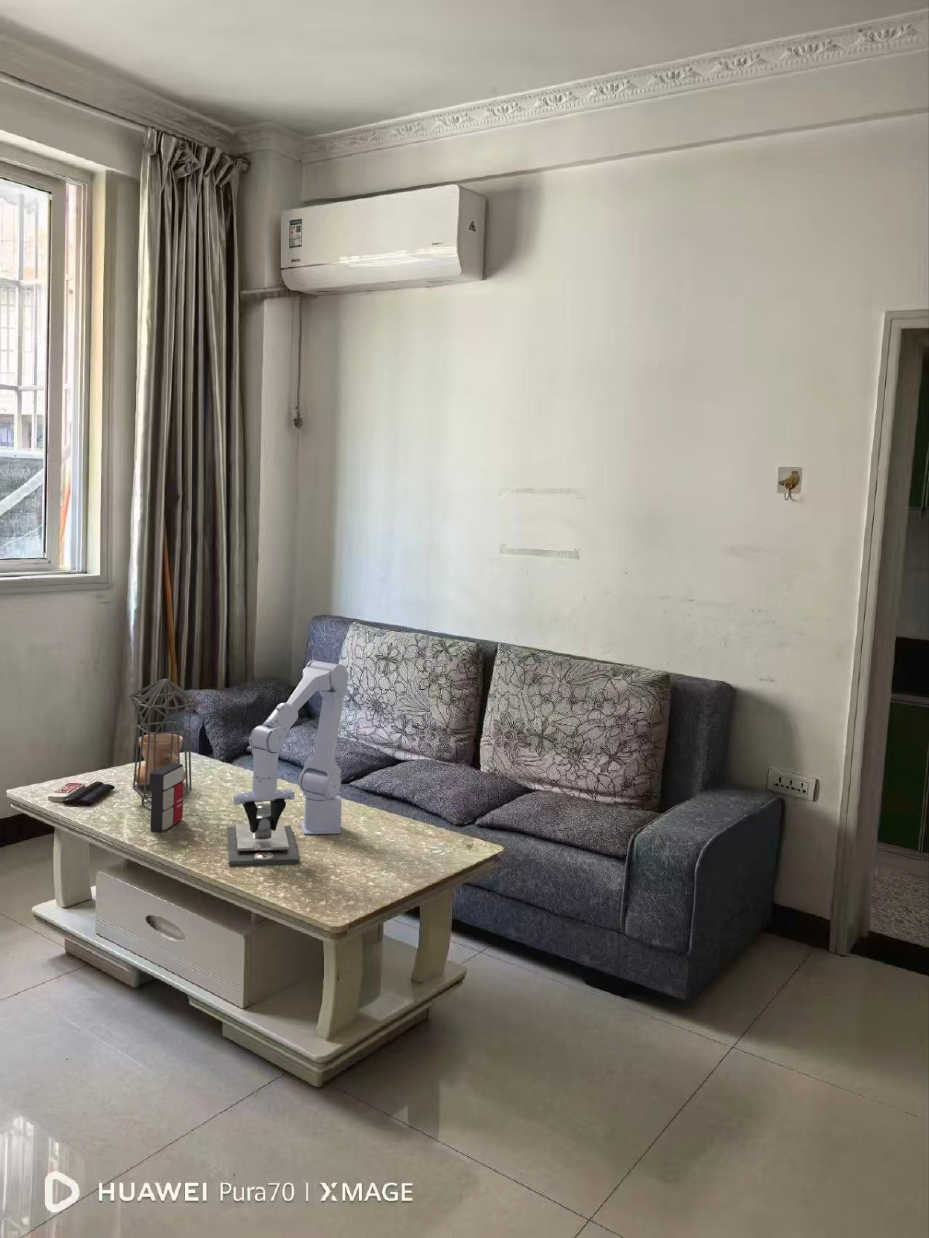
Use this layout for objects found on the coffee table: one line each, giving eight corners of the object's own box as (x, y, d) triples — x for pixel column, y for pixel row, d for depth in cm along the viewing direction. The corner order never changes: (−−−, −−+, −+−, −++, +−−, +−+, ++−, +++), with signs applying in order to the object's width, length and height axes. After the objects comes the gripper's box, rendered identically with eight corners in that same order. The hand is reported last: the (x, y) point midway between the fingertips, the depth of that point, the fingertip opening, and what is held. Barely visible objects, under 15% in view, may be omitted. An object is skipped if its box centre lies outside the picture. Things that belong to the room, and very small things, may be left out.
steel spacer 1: (270, 821, 263) (270, 803, 262) (271, 827, 259) (271, 808, 258) (253, 822, 262) (253, 803, 261) (253, 827, 258) (254, 808, 257)
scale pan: (283, 824, 256) (283, 822, 255) (288, 849, 238) (289, 846, 238) (235, 825, 252) (235, 823, 252) (237, 850, 235) (237, 848, 235)
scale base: (290, 830, 257) (290, 824, 257) (298, 863, 234) (299, 857, 234) (227, 831, 253) (227, 825, 253) (229, 866, 230) (229, 859, 230)
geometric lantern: (178, 794, 281) (181, 672, 277) (200, 810, 269) (204, 682, 265) (122, 802, 271) (125, 675, 267) (142, 818, 259) (146, 686, 255)
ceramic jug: (124, 781, 290) (125, 734, 289) (172, 775, 299) (173, 729, 298) (147, 798, 276) (149, 748, 275) (197, 791, 286) (198, 742, 284)
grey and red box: (163, 833, 249) (165, 774, 248) (147, 830, 250) (149, 772, 248) (184, 820, 260) (186, 764, 258) (169, 818, 261) (170, 762, 259)
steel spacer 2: (266, 832, 244) (267, 812, 243) (274, 837, 240) (275, 817, 240) (249, 835, 241) (250, 815, 241) (257, 840, 238) (258, 820, 237)
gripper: (288, 768, 246) (286, 822, 247) (230, 773, 238) (228, 828, 240) (298, 776, 240) (296, 831, 241) (239, 781, 232) (237, 837, 234)
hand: (263, 830), depth 240 cm, fingers closed on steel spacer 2, 4 cm apart
